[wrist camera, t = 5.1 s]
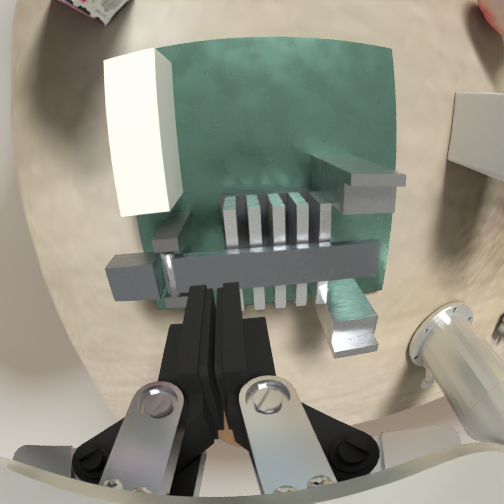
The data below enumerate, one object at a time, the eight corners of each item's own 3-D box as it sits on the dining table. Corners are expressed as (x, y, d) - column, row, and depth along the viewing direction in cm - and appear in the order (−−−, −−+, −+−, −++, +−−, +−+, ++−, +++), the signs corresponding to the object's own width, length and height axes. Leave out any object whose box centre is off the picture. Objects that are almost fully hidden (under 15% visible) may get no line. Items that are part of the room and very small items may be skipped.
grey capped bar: (368, 269, 25) (379, 283, 22) (124, 288, 24) (116, 304, 22) (372, 231, 23) (385, 242, 21) (114, 251, 23) (103, 264, 20)
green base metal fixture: (378, 285, 33) (420, 344, 23) (160, 304, 33) (136, 373, 23) (387, 50, 22) (452, 29, 12) (123, 58, 21) (66, 32, 11)
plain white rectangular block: (183, 192, 26) (169, 211, 21) (143, 197, 26) (121, 216, 21) (171, 62, 21) (154, 47, 16) (130, 71, 21) (103, 60, 16)
